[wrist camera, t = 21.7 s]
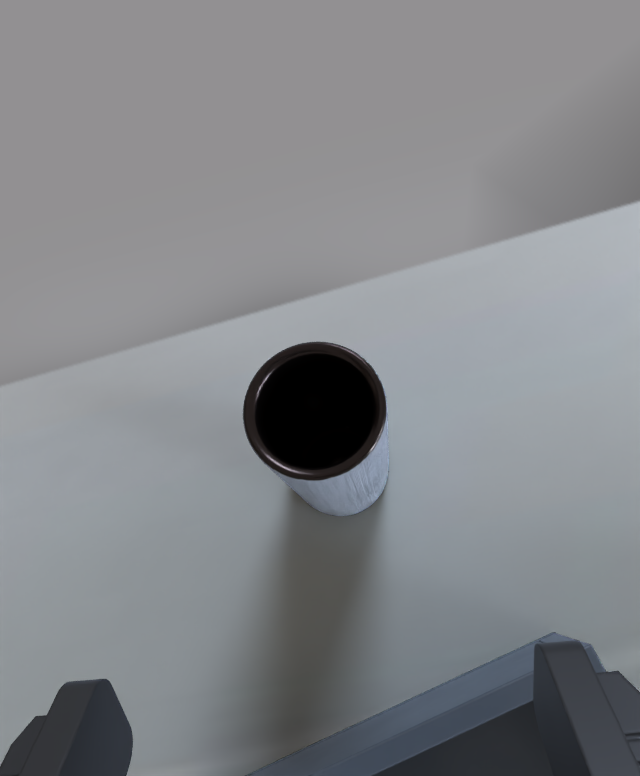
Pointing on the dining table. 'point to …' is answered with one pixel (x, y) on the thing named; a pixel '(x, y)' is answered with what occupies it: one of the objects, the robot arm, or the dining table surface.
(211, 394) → the dining table surface
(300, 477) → the white and black tumbler
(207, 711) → the dining table surface
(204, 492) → the dining table surface
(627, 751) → the robot arm
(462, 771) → the dark grey open tray
